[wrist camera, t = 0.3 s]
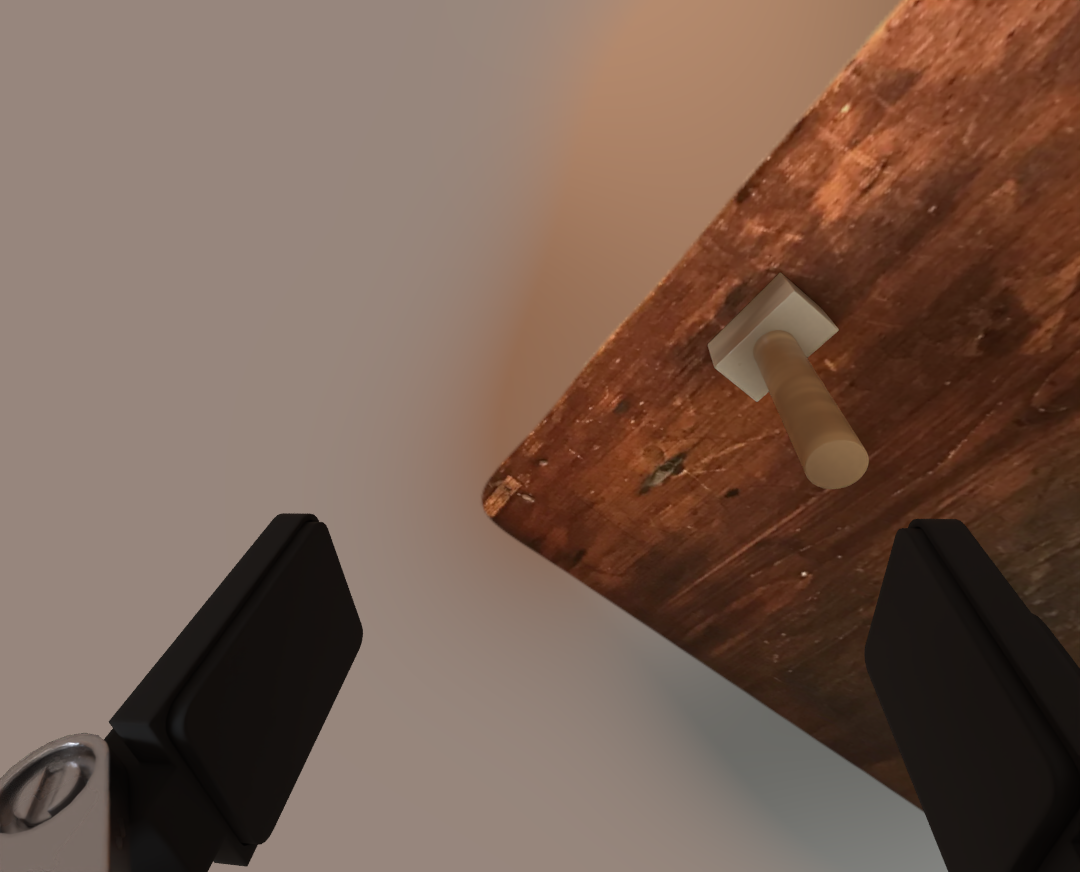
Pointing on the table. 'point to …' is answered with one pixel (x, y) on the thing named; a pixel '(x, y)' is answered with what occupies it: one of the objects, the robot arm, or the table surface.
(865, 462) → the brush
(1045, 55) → the table surface
